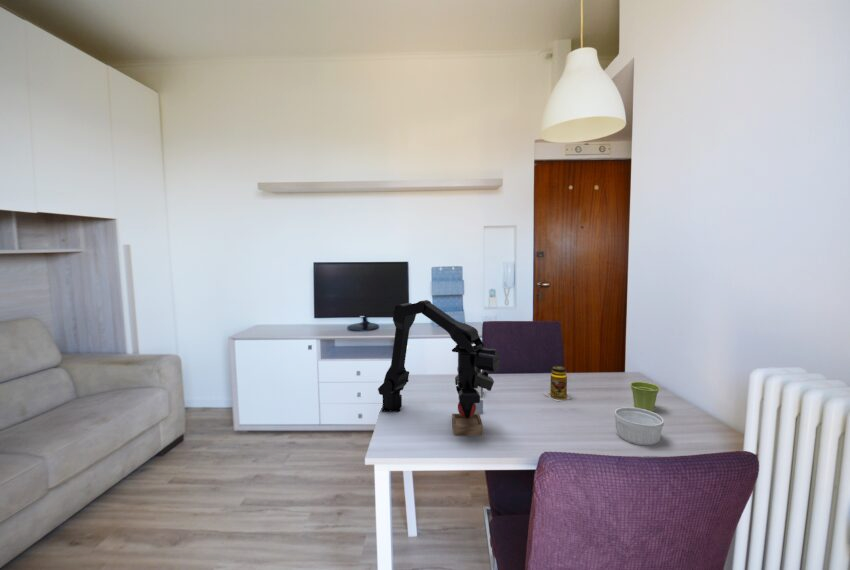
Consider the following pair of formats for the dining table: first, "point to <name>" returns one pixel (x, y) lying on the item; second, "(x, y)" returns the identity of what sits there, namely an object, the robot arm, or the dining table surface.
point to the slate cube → (479, 407)
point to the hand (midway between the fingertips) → (466, 413)
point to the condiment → (558, 384)
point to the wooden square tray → (467, 425)
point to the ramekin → (638, 425)
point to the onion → (463, 412)
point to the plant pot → (644, 395)
